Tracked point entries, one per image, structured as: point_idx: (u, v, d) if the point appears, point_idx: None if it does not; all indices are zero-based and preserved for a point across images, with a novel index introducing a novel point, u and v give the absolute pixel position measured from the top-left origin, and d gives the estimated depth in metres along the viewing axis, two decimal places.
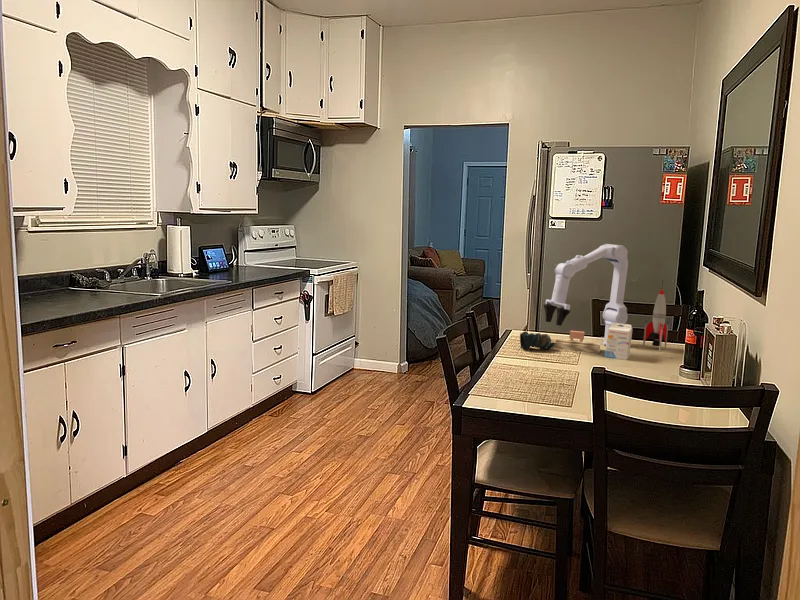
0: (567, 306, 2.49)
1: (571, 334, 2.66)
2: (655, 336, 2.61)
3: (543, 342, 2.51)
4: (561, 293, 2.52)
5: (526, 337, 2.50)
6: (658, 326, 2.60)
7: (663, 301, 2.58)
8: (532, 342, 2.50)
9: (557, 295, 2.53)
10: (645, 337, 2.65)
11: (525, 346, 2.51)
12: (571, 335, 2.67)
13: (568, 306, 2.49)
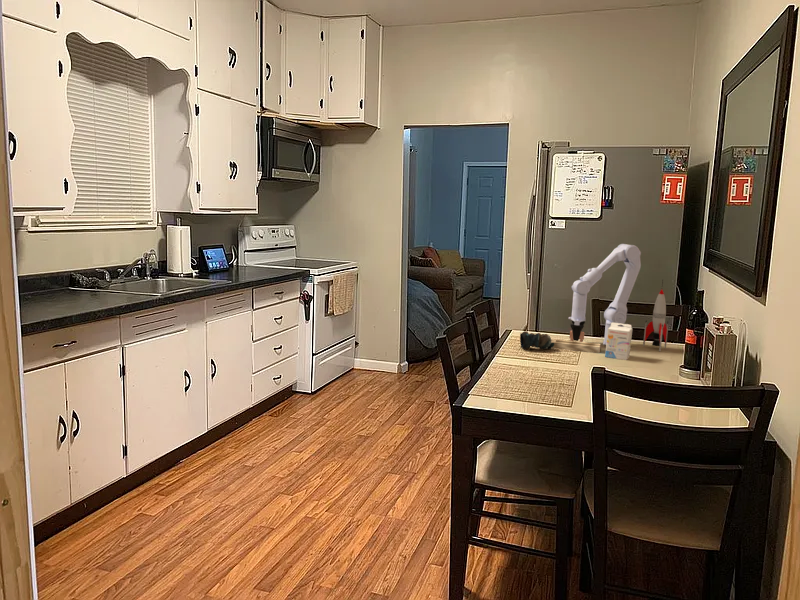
0: (576, 322, 2.59)
1: (571, 334, 2.66)
2: (655, 336, 2.61)
3: (543, 342, 2.51)
4: (575, 309, 2.63)
5: (526, 337, 2.50)
6: (658, 326, 2.60)
7: (663, 301, 2.58)
8: (532, 342, 2.51)
9: (572, 312, 2.64)
10: (645, 337, 2.65)
11: (525, 346, 2.51)
12: (571, 335, 2.67)
13: (577, 322, 2.59)
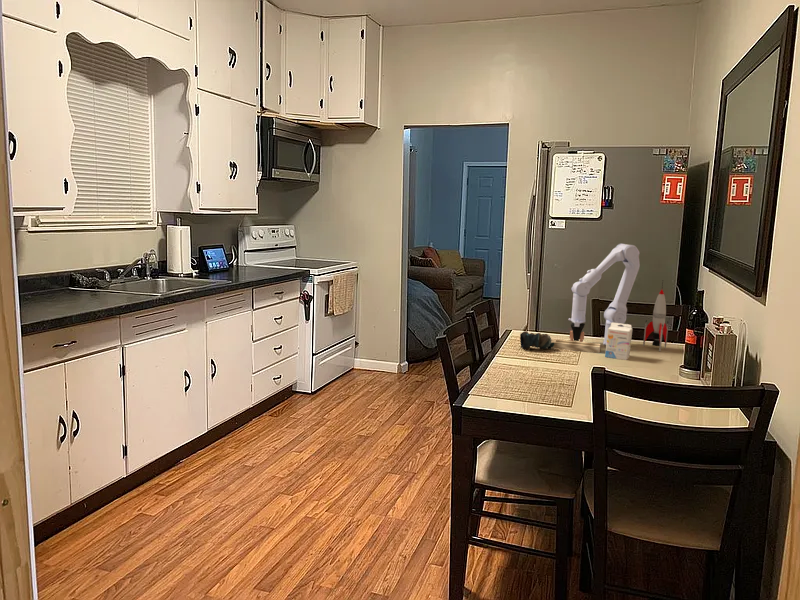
0: (576, 323, 2.59)
1: (571, 334, 2.66)
2: (655, 336, 2.61)
3: (543, 342, 2.51)
4: (575, 311, 2.63)
5: (526, 337, 2.50)
6: (658, 326, 2.60)
7: (663, 301, 2.58)
8: (532, 342, 2.51)
9: (572, 313, 2.64)
10: (645, 337, 2.65)
11: (525, 346, 2.51)
12: (571, 335, 2.67)
13: (577, 323, 2.59)
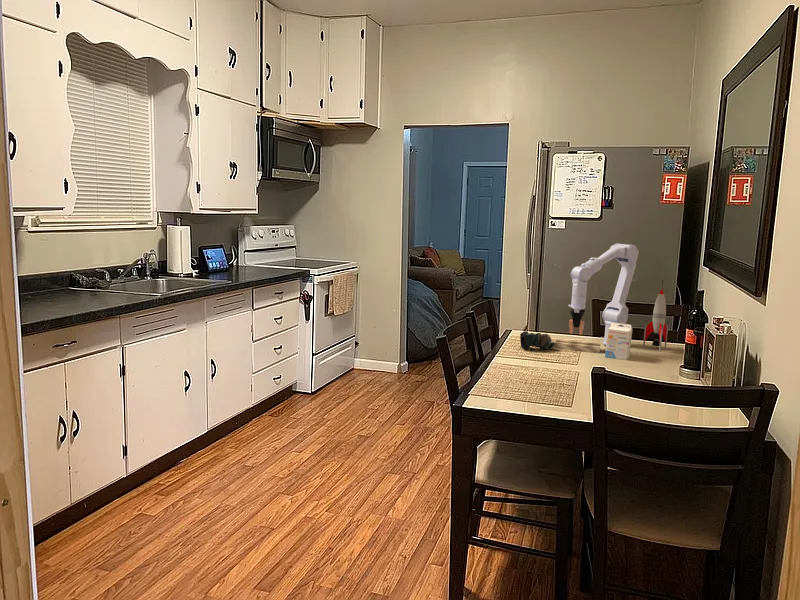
0: (575, 309, 2.50)
1: (570, 323, 2.58)
2: (655, 336, 2.61)
3: (543, 342, 2.52)
4: (575, 297, 2.54)
5: (526, 337, 2.51)
6: (658, 326, 2.60)
7: (663, 301, 2.58)
8: (532, 342, 2.51)
9: (572, 299, 2.56)
10: (645, 337, 2.65)
11: (525, 346, 2.51)
12: (570, 324, 2.58)
13: (577, 309, 2.50)
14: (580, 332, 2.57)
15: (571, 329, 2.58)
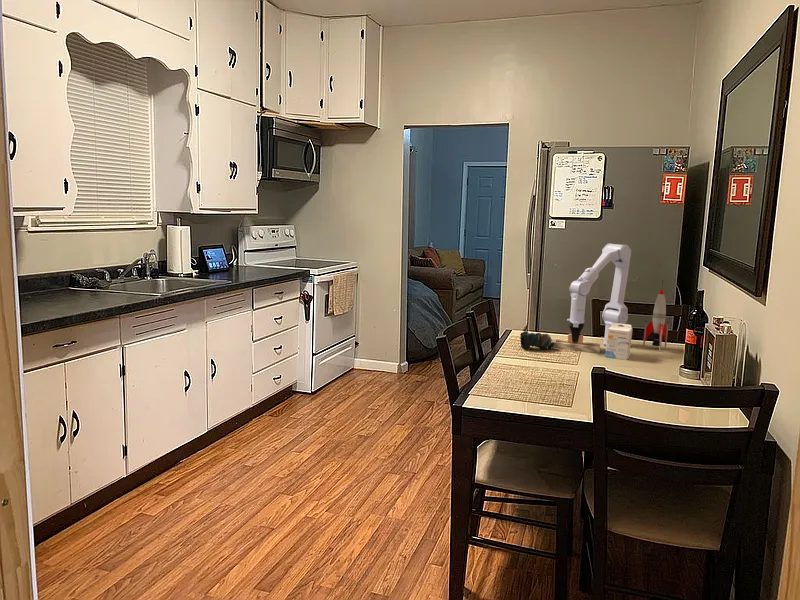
0: (574, 324, 2.49)
1: (569, 337, 2.57)
2: (655, 336, 2.61)
3: (543, 342, 2.52)
4: (574, 311, 2.53)
5: (526, 337, 2.51)
6: (658, 326, 2.60)
7: (663, 301, 2.58)
8: (532, 342, 2.51)
9: (571, 313, 2.55)
10: (645, 337, 2.65)
11: (525, 346, 2.52)
12: (569, 338, 2.57)
13: (576, 324, 2.49)
14: None
15: None
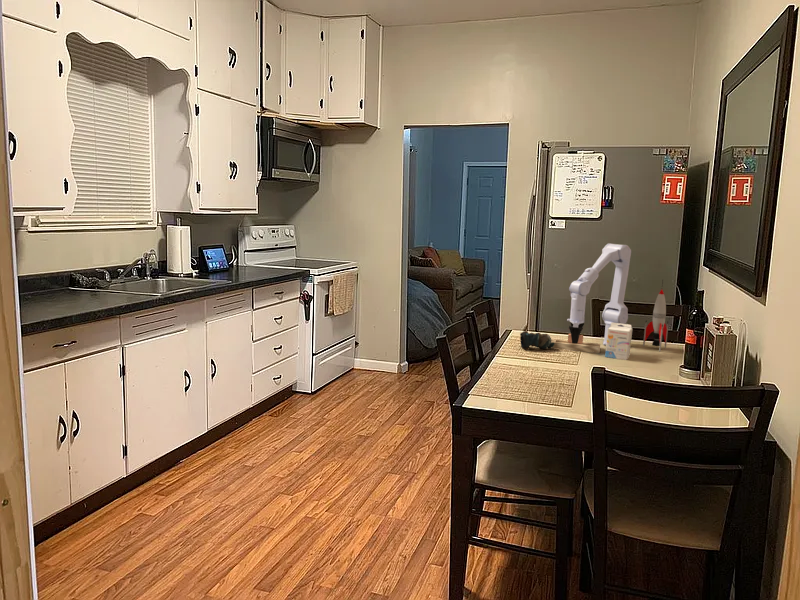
0: (574, 324, 2.49)
1: (569, 337, 2.57)
2: (655, 336, 2.61)
3: (543, 342, 2.52)
4: (574, 311, 2.53)
5: (526, 336, 2.51)
6: (658, 326, 2.60)
7: (663, 301, 2.58)
8: (532, 341, 2.51)
9: (571, 313, 2.55)
10: (645, 337, 2.65)
11: (525, 345, 2.52)
12: (569, 338, 2.57)
13: (576, 324, 2.49)
14: None
15: None
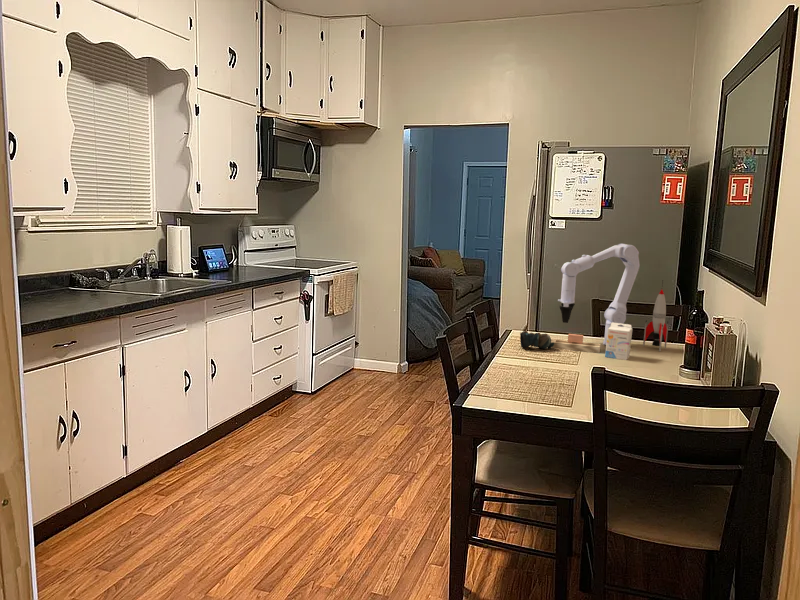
0: (565, 304, 2.58)
1: (569, 337, 2.57)
2: (655, 336, 2.61)
3: (542, 341, 2.52)
4: (565, 291, 2.62)
5: (525, 336, 2.51)
6: (658, 326, 2.60)
7: (663, 301, 2.58)
8: (531, 341, 2.52)
9: (562, 294, 2.64)
10: (645, 337, 2.65)
11: (524, 345, 2.52)
12: (569, 338, 2.57)
13: (566, 304, 2.58)
14: None
15: None
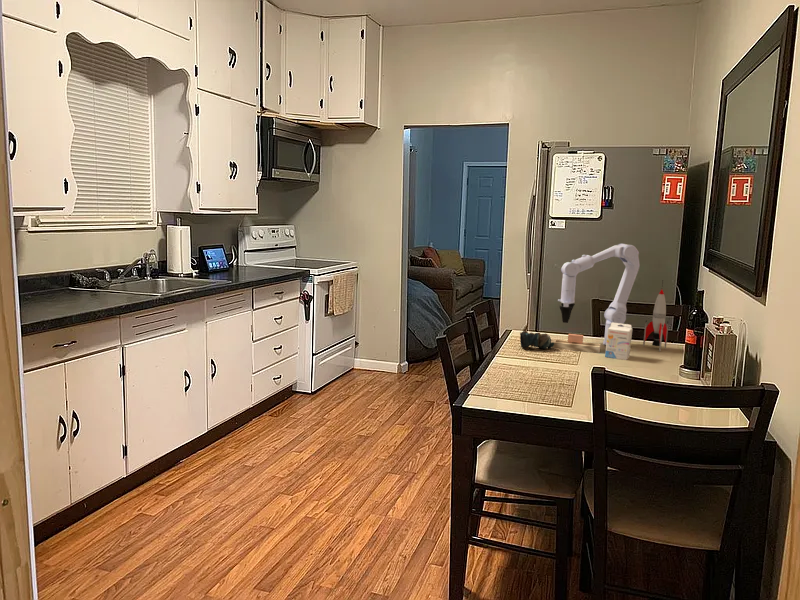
0: (565, 304, 2.58)
1: (569, 337, 2.57)
2: (655, 336, 2.61)
3: (542, 341, 2.52)
4: (565, 291, 2.62)
5: (525, 336, 2.51)
6: (658, 326, 2.60)
7: (663, 301, 2.58)
8: (531, 341, 2.52)
9: (562, 294, 2.64)
10: (645, 337, 2.65)
11: (524, 345, 2.52)
12: (569, 338, 2.57)
13: (566, 304, 2.58)
14: None
15: None
